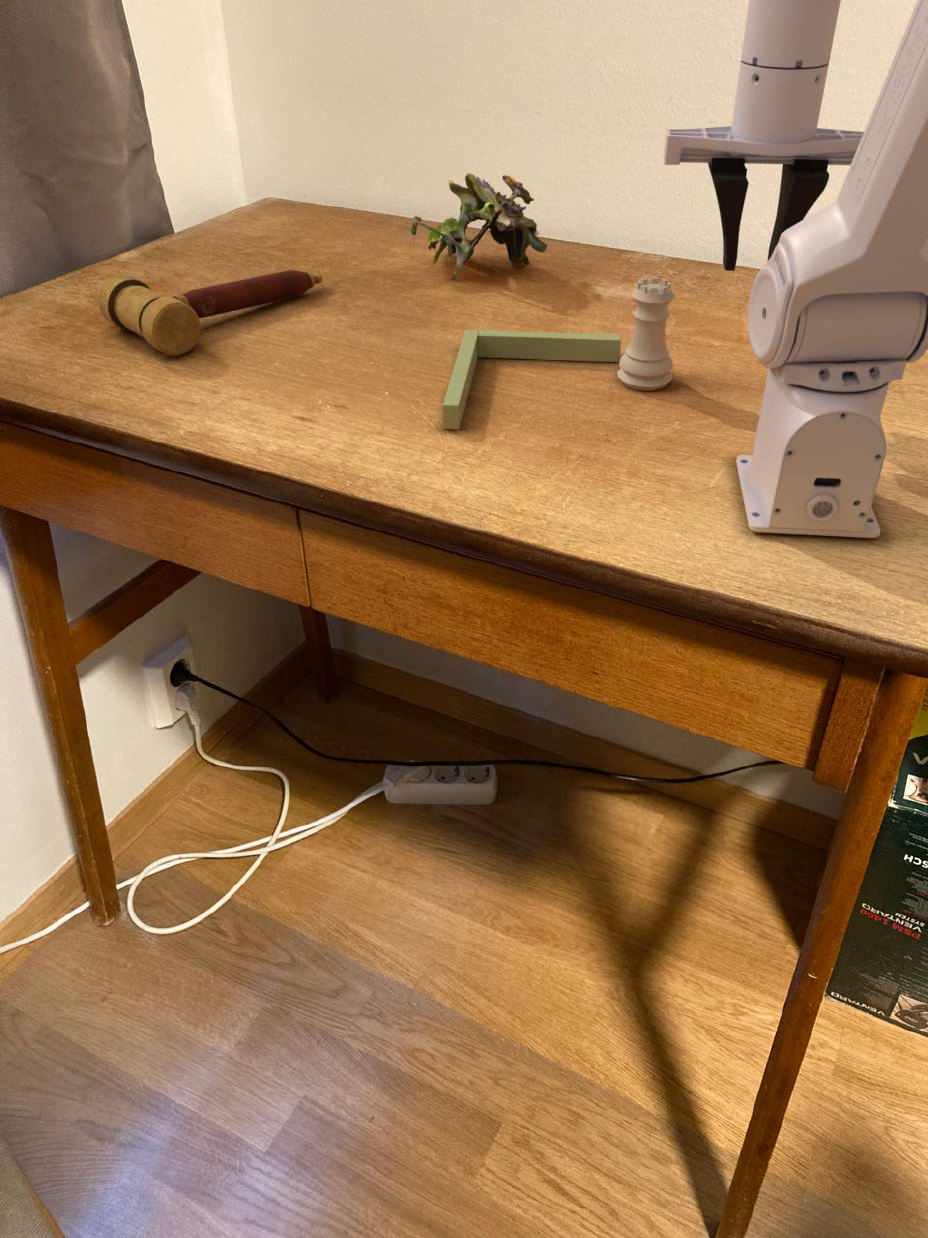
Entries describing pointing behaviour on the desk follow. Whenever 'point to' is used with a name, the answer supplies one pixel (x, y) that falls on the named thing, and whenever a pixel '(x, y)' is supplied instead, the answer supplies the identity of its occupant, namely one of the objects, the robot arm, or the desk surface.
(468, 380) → the corner guide
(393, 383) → the desk surface
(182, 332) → the gavel
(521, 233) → the passion flower
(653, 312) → the rook chess piece
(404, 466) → the desk surface
